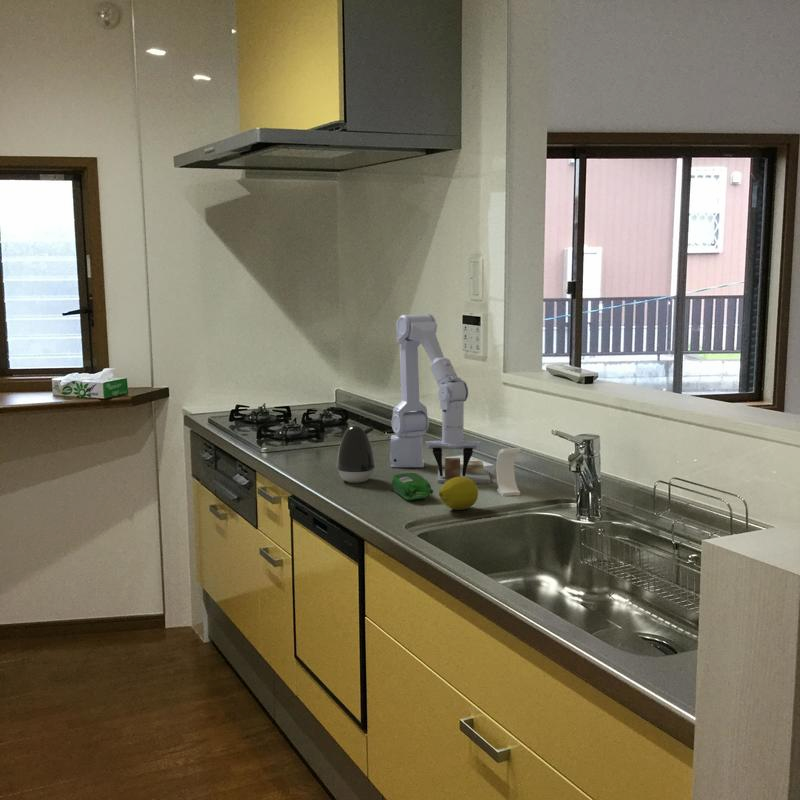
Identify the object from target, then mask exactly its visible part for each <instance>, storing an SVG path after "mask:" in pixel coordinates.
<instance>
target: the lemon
mask: <svg viewBox="0 0 800 800" xmlns="http://www.w3.org/2000/svg"><path fill="white" fill-rule="evenodd" d="M438 496H439V498H440V500H441V501H442V503H443V504H444V505H445V506H446V507H448V508H449V509H452V510H455V511H463V510H466V509H468V508H471V507H472V506H474V505H475V503H476V502H477V500H478V498H479V490H478V486H477V483H474V482H473V481H472V480H471V479H470V478H467V477H455V478H452V479H450V480H448V481H447V482H445V483H443V485H442V486H441V488H440V489H439V491H438Z"/></svg>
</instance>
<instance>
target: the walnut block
mask: <svg viewBox="0 0 800 800" xmlns="http://www.w3.org/2000/svg"><path fill="white" fill-rule="evenodd" d="M444 469H445V479H452V478H455V477H460V469H461V458H460V457H445V458H444Z"/></svg>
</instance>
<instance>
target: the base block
mask: <svg viewBox="0 0 800 800" xmlns="http://www.w3.org/2000/svg"><path fill="white" fill-rule="evenodd" d="M483 469H484V461H483V460H469V462H468V465H467V469H466V473H465V474H483Z"/></svg>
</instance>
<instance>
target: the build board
mask: <svg viewBox="0 0 800 800" xmlns="http://www.w3.org/2000/svg"><path fill="white" fill-rule="evenodd" d="M442 470H443V476H440V472H439V468H437V484H444V483H445V482H447V481H448V480H450V479H445V468H442ZM462 471H463V468H460V477H467V478H470V479H471V480H472V481H473V482H474V483H475V484H491V477H490V473H489V469H488V468H483V474H465V476H463V475H462Z"/></svg>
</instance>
